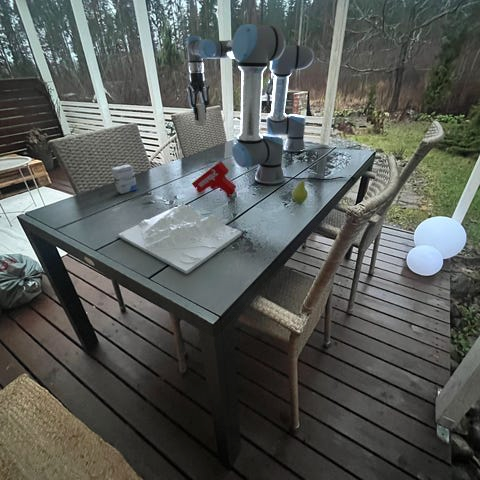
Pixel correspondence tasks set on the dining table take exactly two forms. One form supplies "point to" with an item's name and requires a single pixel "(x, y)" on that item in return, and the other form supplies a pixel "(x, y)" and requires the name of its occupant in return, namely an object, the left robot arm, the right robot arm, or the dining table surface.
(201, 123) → the box
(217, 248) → the relief map
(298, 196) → the fruit
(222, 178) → the toy gun
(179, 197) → the dining table surface
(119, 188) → the ink box
